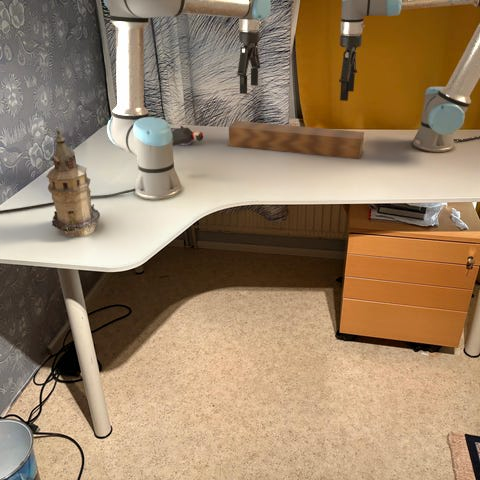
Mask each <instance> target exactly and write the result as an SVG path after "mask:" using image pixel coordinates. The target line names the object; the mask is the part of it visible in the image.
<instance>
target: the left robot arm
mask: <svg viewBox="0 0 480 480" xmlns="http://www.w3.org/2000/svg"><path fill="white" fill-rule="evenodd" d="M103 4H104V5H105V6H106V8H107V10H109V21H110V22H111V24H112V25H113V26H114V29H115V71H116V106H115V107H114V108H113V109H112V116H111V117H110V119H109V120H108V122H107V126H106V132H107V136H108V138H109V140H110V142H112V144H113V145H115V146H116V147H117V148H119V149H120V150H123V151H125V152H128V153H130V154H132V155H135V156H136V161H137V175H136V179H135V184H134V188H132V189H126V190H122V191H119V192H118V191H117V192H115V193H110V194H109V193H108V194H97V195H90V197H91V199H101V198H103V199H104V198H111V197H116V196H117V197H118V196H120V195H123V194H128V193H132V192H133V193H135V195H136V196H137V197H138V198H141V199H143V200H148V201H161V200H168V199H171V198H174V197H176V196H178V195H179V194H180V193H181V192H182V183H181V180H180V177H179V176H178V173H177V171H176V169H175V161H174V160H175V159H174V158H175V157H174V146H173V145H172V132H171V128H172V127H171V124H170V123H169V122H168V121H167V120H165V119H163V118H161V117H153V116H149V110H148V109H147V107H145V81H144V80H145V73H144V72H145V70H144V69H145V68H144V67H145V66H144V65H145V62H144V61H145V60H144V59H145V58H144V57H145V56H144V51H145V50H144V49H145V48H144V47H145V46H144V44H145V43H144V40H145V39H144V38H145V37H144V34H145V33H144V31H145V28H146V27H147V26H148V25H149V19H150V18H151V19H152V18H165V17H166V18H167V17H168V18H169V17H171V18H176V17H177V18H178V17H180V16H181V15H196V16H208V17H209V16H210V17H221V18H222V17H223V18H238V30H239V32H238V40H239V43H242V44H243V47H242V46H240V49H239V50H240V51H239V60H238V66H237V73H236V75H237V77H239V94H244V95H246V94H248V75H247V73H248V69H249V65H251V68H250V86H255V87H258V86H259V69H261V61H260V55H259V54H260V53H259V42H260V31H259V30H260V25H261V24H262V22H261V21H262V20H266V19H267V18H268V17H269V15H270V13H271V8H272V5H271V0H103ZM49 206H55V205H54V201H53V202H47V203H41V204H40V203H39V204H33V205H27V206H22V207H15V208H8V209H2V210H0V214H4V213H11V212H19V211H24V210H30V209H37V208H42V207H49Z"/></svg>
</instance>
